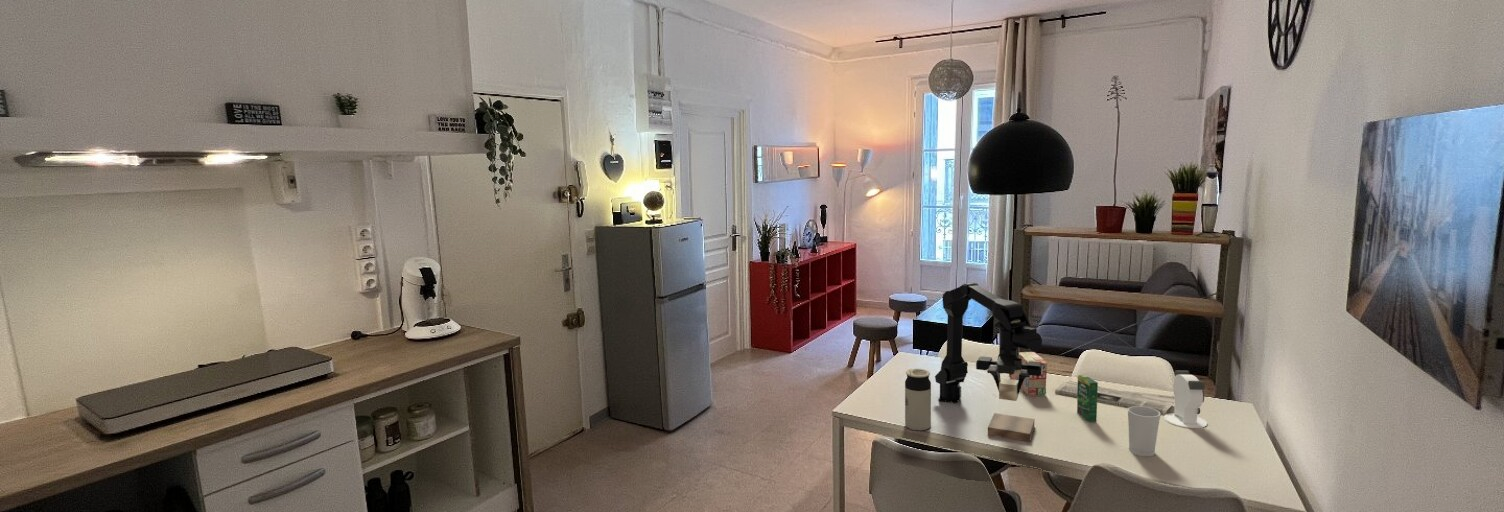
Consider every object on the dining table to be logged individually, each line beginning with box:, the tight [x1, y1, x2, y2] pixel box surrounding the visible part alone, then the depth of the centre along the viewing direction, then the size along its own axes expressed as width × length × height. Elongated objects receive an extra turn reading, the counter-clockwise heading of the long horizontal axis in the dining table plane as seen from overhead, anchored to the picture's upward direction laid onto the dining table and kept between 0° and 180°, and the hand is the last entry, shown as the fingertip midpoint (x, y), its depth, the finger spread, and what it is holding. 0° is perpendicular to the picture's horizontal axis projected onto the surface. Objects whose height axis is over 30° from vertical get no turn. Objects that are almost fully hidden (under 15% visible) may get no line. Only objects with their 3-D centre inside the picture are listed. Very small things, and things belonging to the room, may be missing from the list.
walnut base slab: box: [987, 412, 1035, 443], centre depth 205 cm, size 12×12×2 cm
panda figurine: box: [1163, 369, 1208, 429], centre depth 206 cm, size 12×11×15 cm
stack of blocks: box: [1008, 351, 1048, 396], centre depth 242 cm, size 21×6×12 cm, turn 177°
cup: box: [1127, 406, 1161, 457], centre depth 187 cm, size 8×8×12 cm
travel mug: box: [904, 368, 932, 431], centre depth 210 cm, size 8×8×18 cm
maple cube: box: [998, 378, 1020, 402], centre depth 204 cm, size 5×5×5 cm
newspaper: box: [1054, 380, 1175, 416], centre depth 227 cm, size 35×12×4 cm, turn 49°
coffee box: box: [1076, 374, 1099, 423], centre depth 212 cm, size 8×3×13 cm, turn 0°
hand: (1008, 392), depth 205 cm, fingers closed on maple cube, 5 cm apart
